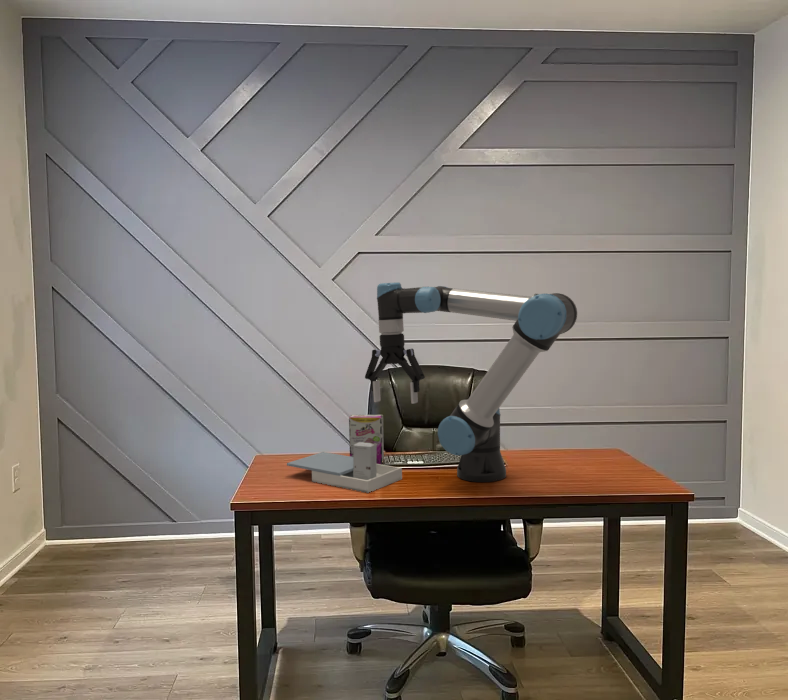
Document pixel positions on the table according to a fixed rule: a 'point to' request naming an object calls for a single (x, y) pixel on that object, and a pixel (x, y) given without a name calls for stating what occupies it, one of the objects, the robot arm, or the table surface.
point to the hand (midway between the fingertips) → (395, 402)
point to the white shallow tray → (383, 478)
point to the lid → (325, 463)
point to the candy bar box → (367, 433)
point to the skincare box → (364, 460)
